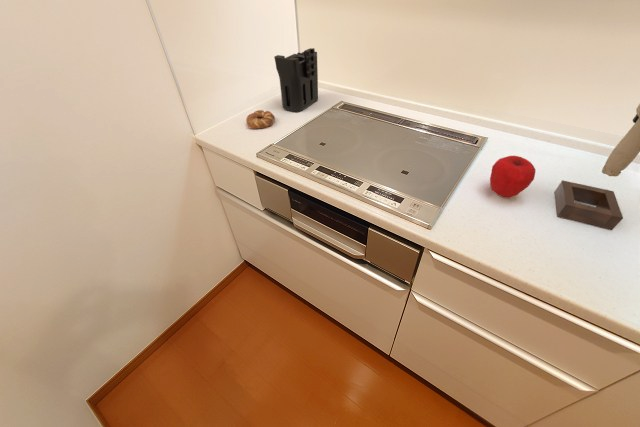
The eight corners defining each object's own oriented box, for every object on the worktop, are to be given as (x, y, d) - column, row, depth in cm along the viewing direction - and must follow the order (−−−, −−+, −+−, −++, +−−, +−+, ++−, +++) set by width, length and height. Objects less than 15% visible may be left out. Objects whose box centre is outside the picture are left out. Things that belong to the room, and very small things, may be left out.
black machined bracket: (279, 109, 125) (272, 52, 110) (305, 93, 138) (302, 40, 123) (302, 115, 120) (298, 56, 106) (327, 98, 133) (327, 43, 119)
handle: (605, 180, 65) (655, 115, 55) (590, 164, 70) (634, 102, 60) (629, 182, 65) (685, 116, 54) (612, 166, 69) (661, 103, 59)
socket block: (603, 203, 76) (613, 191, 74) (612, 230, 69) (623, 218, 66) (554, 192, 80) (561, 180, 78) (557, 216, 73) (565, 204, 70)
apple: (484, 179, 85) (499, 145, 78) (522, 187, 82) (541, 153, 74) (481, 198, 79) (496, 164, 72) (521, 209, 75) (542, 173, 68)
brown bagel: (259, 133, 110) (258, 123, 107) (239, 125, 115) (237, 116, 112) (281, 121, 117) (280, 112, 114) (261, 114, 122) (260, 105, 119)
